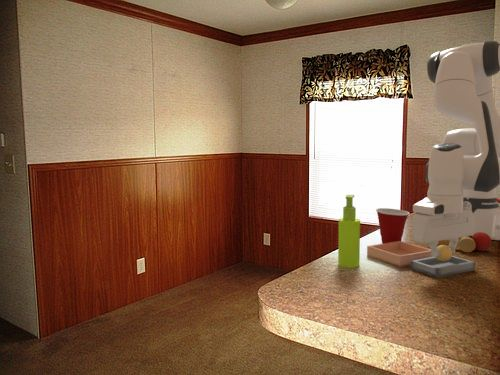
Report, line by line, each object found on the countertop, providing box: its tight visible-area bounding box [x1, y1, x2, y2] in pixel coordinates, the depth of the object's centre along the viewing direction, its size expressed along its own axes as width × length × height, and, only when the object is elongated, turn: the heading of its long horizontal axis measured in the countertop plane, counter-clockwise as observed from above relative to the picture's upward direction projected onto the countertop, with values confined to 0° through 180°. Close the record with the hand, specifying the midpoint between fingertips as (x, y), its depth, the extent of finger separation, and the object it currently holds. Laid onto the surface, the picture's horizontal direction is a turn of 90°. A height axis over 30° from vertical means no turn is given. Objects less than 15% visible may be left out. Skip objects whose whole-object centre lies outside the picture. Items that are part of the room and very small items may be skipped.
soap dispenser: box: [337, 194, 361, 269], centre depth 122 cm, size 6×7×20 cm
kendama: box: [437, 232, 492, 253], centre depth 138 cm, size 8×6×18 cm
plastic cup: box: [375, 207, 411, 244], centre depth 144 cm, size 11×11×12 cm
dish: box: [366, 240, 433, 268], centre depth 128 cm, size 13×13×3 cm
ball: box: [436, 245, 453, 261], centre depth 117 cm, size 4×4×4 cm
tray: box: [410, 255, 476, 279], centre depth 117 cm, size 14×9×2 cm, turn 116°
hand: (443, 254), depth 117 cm, fingers closed on ball, 4 cm apart
